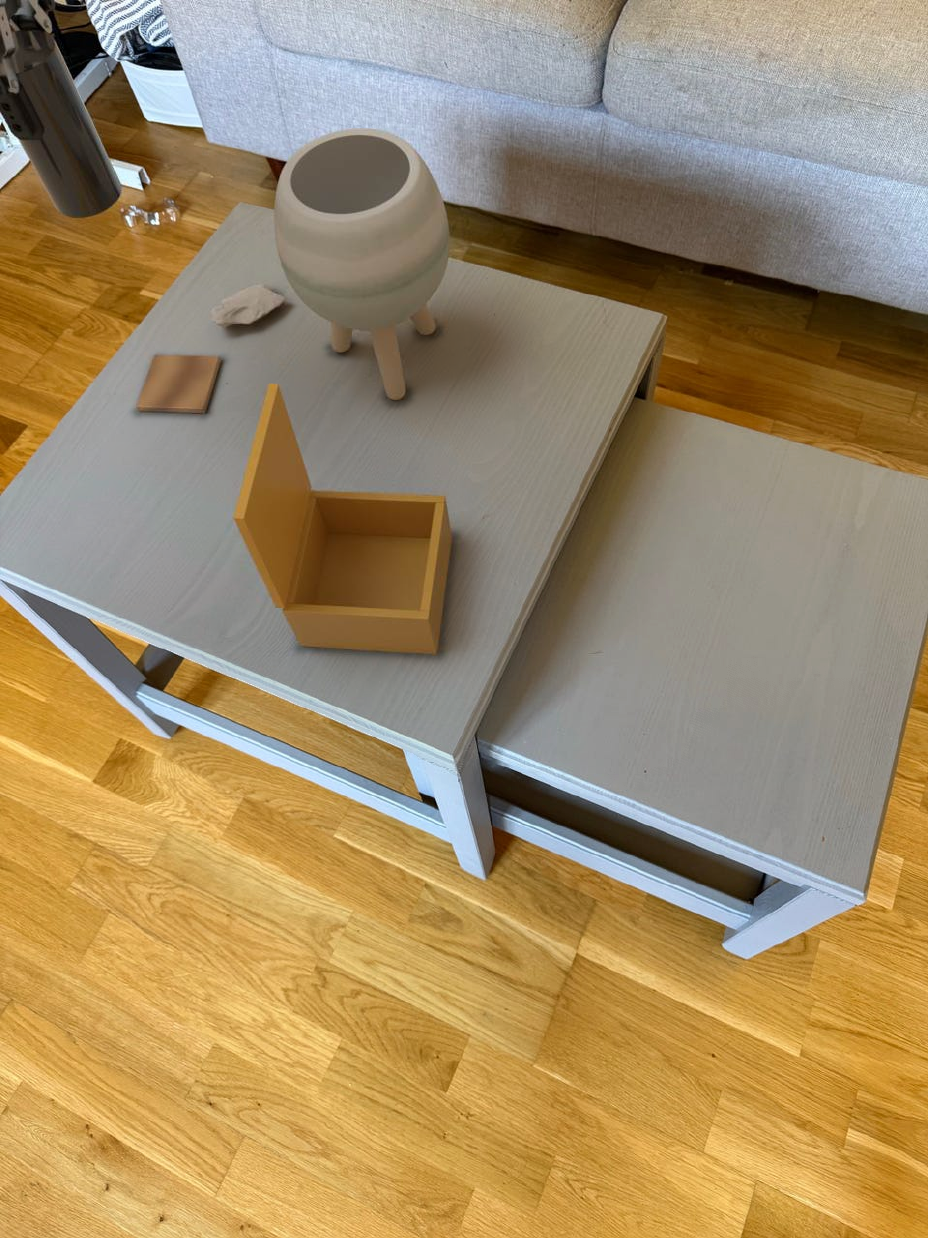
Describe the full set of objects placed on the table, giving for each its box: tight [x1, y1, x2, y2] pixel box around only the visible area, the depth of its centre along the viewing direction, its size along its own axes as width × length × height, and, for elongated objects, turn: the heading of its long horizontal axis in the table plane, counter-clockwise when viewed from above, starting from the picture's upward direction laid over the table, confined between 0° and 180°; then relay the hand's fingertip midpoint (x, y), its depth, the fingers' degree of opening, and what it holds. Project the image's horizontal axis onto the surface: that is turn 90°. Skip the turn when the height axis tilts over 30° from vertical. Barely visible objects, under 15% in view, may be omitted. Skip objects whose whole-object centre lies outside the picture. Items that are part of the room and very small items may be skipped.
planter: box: [273, 128, 451, 401], centre depth 89 cm, size 16×16×22 cm
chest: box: [281, 489, 453, 655], centre depth 82 cm, size 13×13×7 cm
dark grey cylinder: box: [0, 29, 123, 219], centre depth 72 cm, size 6×6×12 cm
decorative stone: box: [210, 283, 287, 328], centre depth 102 cm, size 9×6×3 cm, turn 123°
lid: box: [232, 383, 313, 609], centre depth 73 cm, size 14×13×1 cm
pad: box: [136, 354, 222, 414], centre depth 98 cm, size 8×8×1 cm
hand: (44, 109), depth 70 cm, fingers closed on dark grey cylinder, 6 cm apart
